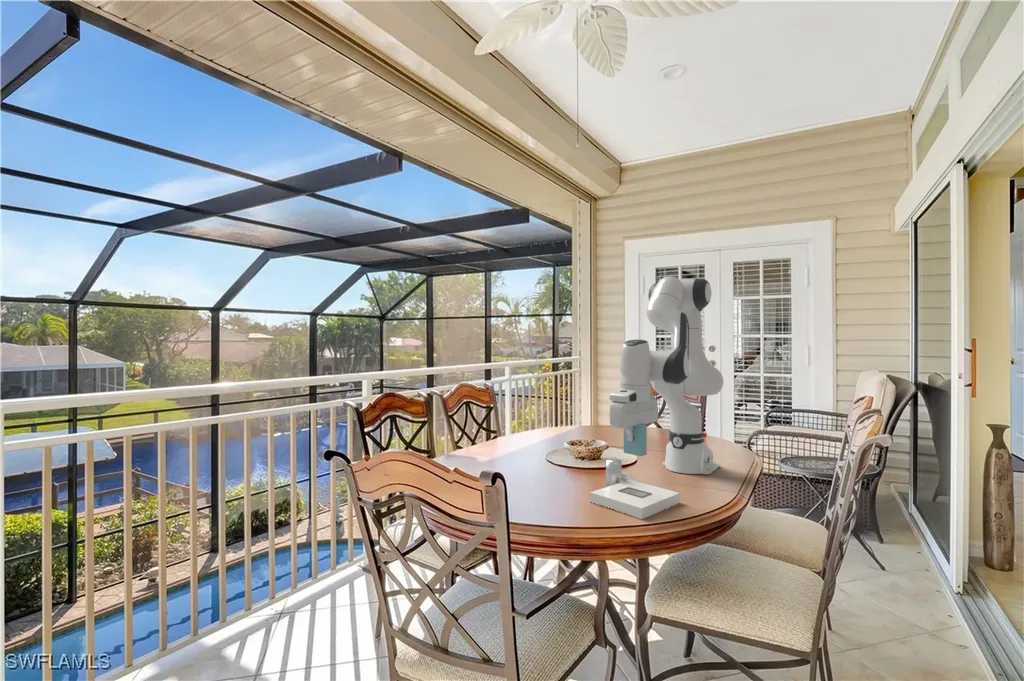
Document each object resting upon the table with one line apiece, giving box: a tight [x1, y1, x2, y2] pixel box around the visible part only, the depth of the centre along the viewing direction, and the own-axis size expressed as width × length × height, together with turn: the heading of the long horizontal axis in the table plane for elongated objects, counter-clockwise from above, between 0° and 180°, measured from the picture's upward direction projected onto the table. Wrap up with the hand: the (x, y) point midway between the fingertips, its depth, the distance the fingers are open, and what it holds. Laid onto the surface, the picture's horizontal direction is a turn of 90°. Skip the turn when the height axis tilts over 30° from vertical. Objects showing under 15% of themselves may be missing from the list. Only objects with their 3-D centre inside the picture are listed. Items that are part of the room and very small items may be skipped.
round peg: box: [605, 458, 623, 487], centre depth 158 cm, size 5×5×9 cm
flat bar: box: [623, 423, 648, 457], centre depth 144 cm, size 3×6×9 cm, turn 41°
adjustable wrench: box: [622, 470, 643, 483], centre depth 162 cm, size 25×6×2 cm, turn 14°
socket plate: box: [589, 480, 681, 520], centre depth 144 cm, size 20×18×3 cm
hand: (635, 439), depth 144 cm, fingers closed on flat bar, 3 cm apart
